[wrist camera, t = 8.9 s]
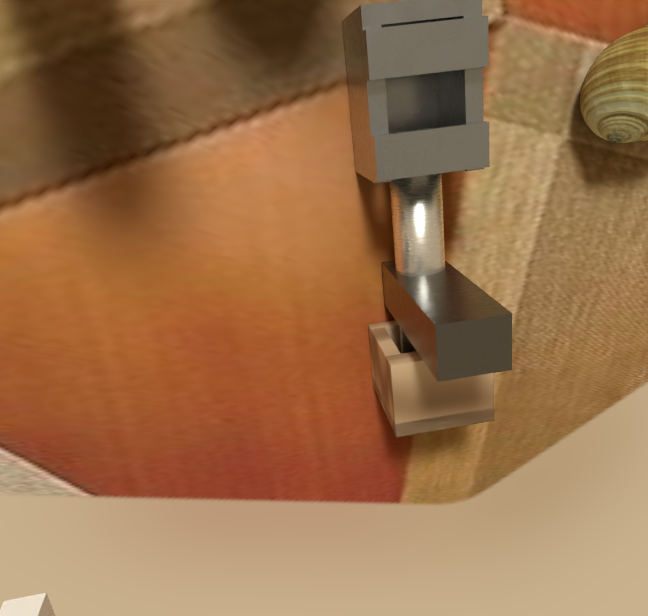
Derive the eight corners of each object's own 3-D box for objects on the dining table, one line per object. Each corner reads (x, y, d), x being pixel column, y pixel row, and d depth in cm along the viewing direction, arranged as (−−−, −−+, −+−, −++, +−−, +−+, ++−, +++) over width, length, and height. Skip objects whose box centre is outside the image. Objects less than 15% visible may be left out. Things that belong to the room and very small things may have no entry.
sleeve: (341, 21, 34) (363, 2, 28) (444, 9, 35) (488, -11, 29) (355, 171, 38) (377, 185, 31) (448, 159, 38) (489, 170, 32)
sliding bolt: (373, 153, 37) (428, 175, 26) (432, 145, 37) (513, 164, 26) (389, 366, 42) (441, 460, 31) (441, 357, 43) (511, 448, 32)
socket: (367, 324, 41) (390, 365, 35) (455, 310, 42) (493, 349, 35) (373, 386, 43) (396, 437, 37) (457, 373, 44) (494, 420, 37)
